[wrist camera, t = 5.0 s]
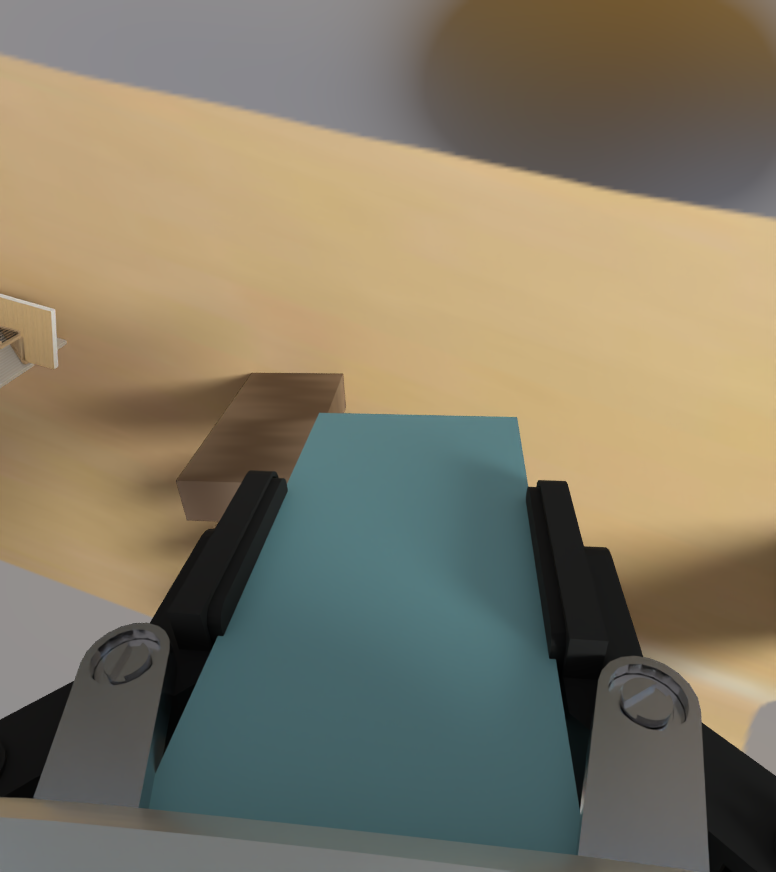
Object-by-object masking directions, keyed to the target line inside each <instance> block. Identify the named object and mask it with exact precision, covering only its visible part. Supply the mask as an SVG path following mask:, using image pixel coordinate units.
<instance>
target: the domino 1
mask: <svg viewBox="0 0 776 872" xmlns="http://www.w3.org/2000/svg"><path fill="white" fill-rule="evenodd" d="M345 408H346V402H345V391H344V379H343V374H310V373H252V374H251V375H250V377H249V378H248V379H247V381H246V382H245V384H244V385H243V386H242V388H241V389H240V391H239V392H238V394H237V395H236V396H235V398H234V399H233V401H232V402H231V403H230V405H229V406H228V408H227V409H226V410H225V412H224V413H223V415H222V416H221V418H220V419H219V420H218V422H217V423H216V425H215V426H214V427H213V429H212V430H211V432H210V433H209V435H208V436H207V437H206V439H205V440H204V442H203V443H202V444H201V446H200V447H199V449H198V450H197V452H196V453H195V454H194V456H193V457H192V459H191V460H190V461H189V463H188V464H187V466H186V467H185V469H184V470H183V471H182V473H181V474H180V476H179V477H178V478H177V480H176V483H177V486H178V490H179V494H180V497H181V501H182V504H183V508H184V512H185V515H186V519H187V520H193V521H220V519H221V517H222V516H223V514H224V512H225V510H226V509H227V507H228V505H229V503H230V502H231V500H232V498H233V496H234V495H235V493H236V491H237V489H238V488H239V486H240V484H241V482H242V481H243V479H244V477H245V475H246V474H247V472H248V471H250V470H258V471H275V472H277V474H278V477H279V478H284V479H285V480H286V482H287V483H288V481H289V478H290V476H291V474H292V472H293V470H294V467H295V465H296V463H297V461H298V459H299V456H300V454H301V452H302V450H303V448H304V445H305V443H306V441H307V439H308V437H309V434H310V432H311V430H312V428H313V426H314V423H315V421H316V419H317V417H318V415H319V413H344V411H345Z"/></svg>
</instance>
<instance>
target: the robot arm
mask: <svg viewBox="0 0 776 872" xmlns="http://www.w3.org/2000/svg"><path fill="white" fill-rule="evenodd" d="M287 492H288V488H287V482H286V480H285V479H284V478H279V477H278V474H277V472H275V471H258V470H250V471H248V472H247V474H246V475H245V477H244V479H243V481H242V482H241V484H240V486H239V488H238V489H237V491H236V493H235V495H234V496H233V498H232V500H231V502H230V503H229V505H228V507H227V509H226V510H225V512H224V514H223V516H222V517H221V519H220V521H219V523H218V524H217V526H216V528H215V529H208V530H206V531H205V532H204V533H203V535H202V536H201V538H200V539H199V541H198V543H197V544H196V546H195V548H194V549H193V551H192V553H191V554H190V556H189V558H188V560H187V561H186V563H185V565H184V566H183V568H182V570H181V571H180V573H179V575H178V576H177V578H176V580H175V581H174V583H173V585H172V587H171V588H170V590H169V592H168V593H167V595H166V597H165V598H164V600H163V602H162V603H161V605H160V607H159V608H158V610H157V612H156V614H155V615H154V617H153V619H152V620H151V622H150V623H133V624H129V625H125V626H121V627H119V628H117V629H115V630H113V631H111V632H109V633H107V634H106V635H104V636H103V637H102V638H100V639H99V640H97V641H96V642H95V643H94V644H93V645H92V646H91V647H90V649H89V650H88V651H87V652H86V654H85V656H84V658H83V659H82V661H81V663H80V666H79V669H78V672H77V675H76V677H75V680H74V681H73V682H71V683H69V684H67V685H65V686H63V687H61V688H60V689H57V690H56V691H54V692H52V693H50V694H48V695H46V696H44V697H42V698H41V699H39V700H37V701H35V702H33V703H31V704H29V705H27V706H25V707H23V708H21V709H20V710H18V711H16V712H14V713H12V714H10V715H8V716H6V717H4V718H2V719H1V720H0V872H776V776H775V775H774V774H772V773H771V772H770V771H768V770H767V769H765V768H764V767H763V766H761V765H760V764H758V763H757V762H756V761H754V760H753V759H752V758H750V757H749V756H747V755H746V754H745V753H743V752H742V751H740V750H739V749H738V748H736V747H735V746H734V745H732V744H731V743H729V742H728V741H727V740H725V739H724V738H723V737H721V736H720V735H718V734H717V733H716V732H714V731H713V730H711V729H710V728H709V727H707V726H706V725H705V724H703V723H702V722H701V709H700V705H699V701H698V697H697V696H696V694H695V692H694V691H693V689H692V688H691V686H690V684H689V683H688V682H687V681H686V680H685V679H684V678H683V677H682V676H681V675H680V674H679V673H677V672H676V671H674V670H673V669H671V668H670V667H668V666H666V665H665V664H663V663H660V662H658V661H655V660H653V659H650V658H645V657H643V655H642V651H641V648H640V645H639V642H638V639H637V636H636V632H635V629H634V626H633V623H632V620H631V617H630V613H629V610H628V607H627V604H626V601H625V598H624V594H623V591H622V588H621V585H620V582H619V578H618V575H617V572H616V569H615V566H614V563H613V559H612V556H611V554H610V551H609V550H608V549H607V548H606V547H585V546H584V545H583V541H582V537H581V534H580V530H579V526H578V522H577V518H576V515H575V511H574V507H573V503H572V499H571V495H570V492H569V488H568V484H567V482H566V481H547V480H538V482H537V487H527V492H526V506H527V513H528V519H529V526H530V533H531V540H532V546H533V553H534V560H535V567H536V573H537V580H538V587H539V594H540V600H541V607H542V614H543V621H544V628H545V634H546V641H547V648H548V655H549V659H556V664H557V671H558V677H559V683H560V689H561V696H562V702H563V708H564V714H565V721H566V727H567V733H568V739H569V746H570V752H571V758H572V765H573V771H574V777H575V783H576V790H577V796H578V802H579V808H580V823H579V832H578V840H577V848H576V855H571V854H562V853H553V852H544V851H535V850H526V849H517V848H508V847H500V846H491V845H482V844H473V843H464V842H455V841H446V840H437V839H429V838H420V837H410V836H401V835H392V834H383V833H373V832H364V831H355V830H346V829H336V828H327V827H318V826H308V825H299V824H289V823H280V822H271V821H261V820H252V819H242V818H233V817H223V816H213V815H203V814H193V813H183V812H174V811H164V810H154V809H149V805H150V799H151V794H152V788H153V783H154V777H155V773H156V771H157V769H158V767H159V764H160V762H161V760H162V758H163V756H164V753H165V751H166V749H167V747H168V745H169V742H170V740H171V738H172V736H173V734H174V731H175V729H176V727H177V725H178V723H179V720H180V718H181V716H182V714H183V712H184V709H185V707H186V705H187V703H188V701H189V698H190V696H191V694H192V692H193V690H194V687H195V685H196V683H197V681H198V679H199V676H200V674H201V672H202V670H203V668H204V665H205V663H206V661H207V659H208V657H209V654H210V652H211V650H212V648H213V646H214V643H215V641H216V639H217V637H218V636H224V634H225V632H226V629H227V627H228V625H229V623H230V620H231V618H232V616H233V614H234V611H235V609H236V607H237V605H238V602H239V600H240V598H241V596H242V593H243V591H244V589H245V587H246V584H247V582H248V580H249V578H250V575H251V573H252V571H253V568H254V566H255V564H256V562H257V559H258V557H259V555H260V553H261V550H262V548H263V546H264V544H265V541H266V539H267V537H268V535H269V532H270V530H271V528H272V526H273V523H274V521H275V519H276V517H277V514H278V512H279V510H280V508H281V505H282V503H283V501H284V499H285V496H286V494H287Z"/></svg>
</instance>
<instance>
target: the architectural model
mask: <svg viewBox="0 0 776 872" xmlns="http://www.w3.org/2000/svg"><path fill="white" fill-rule="evenodd" d="M66 344H67V340H64V339H61V338H57V334H56V315H55V309H53V308H49V307H46V306H42V305H38V304H35V303H31V302H28V301H24V300H21V299H17V298H14V297H10V296H7V295H3V294H0V388H1V387H3V386H4V385H6V384H7V383H9V382H10V381H12V380H13V379H15V378H16V377H18V376H19V375H21V374H22V373H24V372H25V371H27V370H28V369H30V368H31V367H33V366H34V365H39V366H43V367H46V368H50V369H55V368H57V367H58V354H57V350H58V349H60V348H61V347H63V346H64V345H66Z"/></svg>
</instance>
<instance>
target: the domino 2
mask: <svg viewBox="0 0 776 872" xmlns="http://www.w3.org/2000/svg"><path fill="white" fill-rule="evenodd" d="M527 487H528V483H527V477H526V470H525V464H524V458H523V451H522V445H521V439H520V433H519V426H518V420H517V417H485V416H440V415H395V414H350V413H319V415H318V417H317V419H316V421H315V423H314V426H313V428H312V430H311V432H310V434H309V437H308V439H307V441H306V443H305V445H304V448H303V450H302V452H301V454H300V456H299V459H298V461H297V463H296V465H295V467H294V470H293V472H292V474H291V476H290V478H289V481H288V483H287V488H288V492H287V494H286V496H285V499H284V501H283V503H282V505H281V508H280V510H279V512H278V514H277V517H276V519H275V521H274V523H273V526H272V528H271V530H270V532H269V535H268V537H267V539H266V541H265V544H264V546H263V548H262V550H261V553H260V555H259V557H258V559H257V562H256V564H255V566H254V568H253V571H252V573H251V575H250V578H249V580H248V582H247V584H246V587H245V589H244V591H243V593H242V596H241V598H240V600H239V602H238V605H237V607H236V609H235V611H234V614H233V616H232V618H231V620H230V623H229V625H228V627H227V629H226V632H225V634H224V636H218V637H217V639H216V641H215V643H214V646H213V648H212V650H211V652H210V654H209V657H208V659H207V661H206V663H205V665H204V668H203V670H202V672H201V674H200V676H199V679H198V681H197V683H196V685H195V687H194V690H193V692H192V694H191V696H190V698H189V701H188V703H187V705H186V707H185V709H184V712H183V714H182V716H181V718H180V720H179V723H178V725H177V727H176V729H175V731H174V734H173V736H172V738H171V740H170V742H169V745H168V747H167V749H166V751H165V753H164V756H163V758H162V760H161V762H160V764H159V767H158V769H157V771H156V773H155V777H154V783H153V788H152V794H151V799H150V805H149V809H154V810H164V811H174V812H183V813H193V814H203V815H213V816H223V817H233V818H242V819H252V820H261V821H271V822H280V823H289V824H299V825H308V826H318V827H327V828H336V829H346V830H355V831H364V832H373V833H383V834H392V835H401V836H410V837H420V838H429V839H437V840H446V841H455V842H464V843H473V844H482V845H491V846H500V847H508V848H517V849H526V850H535V851H544V852H553V853H562V854H571V855H576V848H577V840H578V832H579V823H580V808H579V802H578V796H577V790H576V783H575V777H574V771H573V765H572V758H571V752H570V746H569V739H568V733H567V727H566V721H565V714H564V708H563V702H562V696H561V689H560V683H559V677H558V671H557V664H556V659H549V655H548V648H547V641H546V634H545V628H544V621H543V614H542V607H541V600H540V594H539V587H538V580H537V573H536V567H535V560H534V553H533V546H532V540H531V533H530V526H529V519H528V513H527V506H526V492H527Z"/></svg>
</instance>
